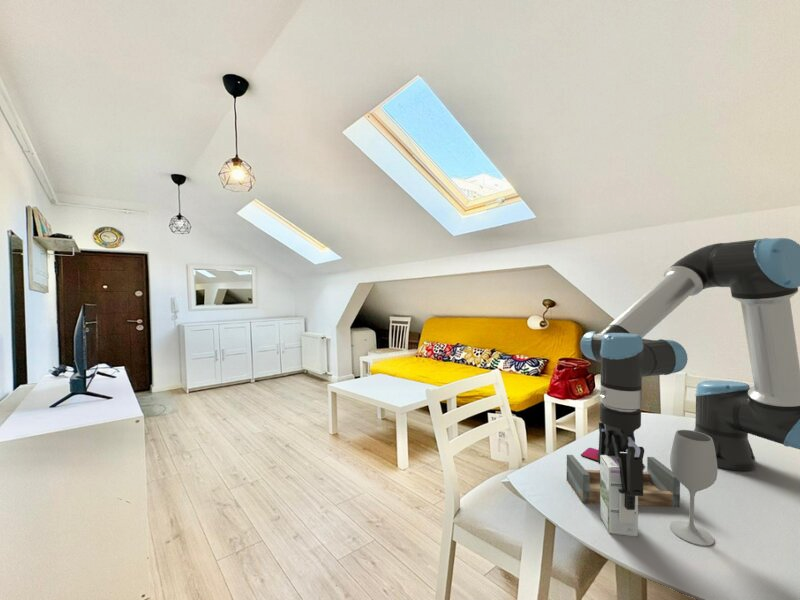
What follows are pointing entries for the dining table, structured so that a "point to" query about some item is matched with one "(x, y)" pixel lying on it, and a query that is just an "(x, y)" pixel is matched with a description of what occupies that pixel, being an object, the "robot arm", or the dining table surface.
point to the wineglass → (693, 478)
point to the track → (656, 484)
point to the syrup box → (613, 498)
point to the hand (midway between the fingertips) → (618, 511)
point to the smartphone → (592, 454)
